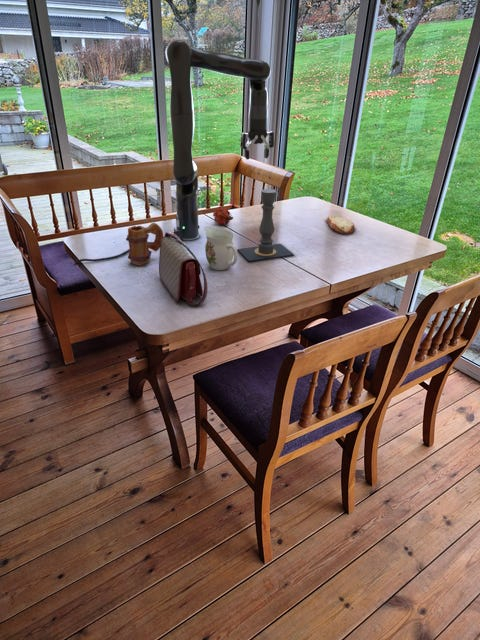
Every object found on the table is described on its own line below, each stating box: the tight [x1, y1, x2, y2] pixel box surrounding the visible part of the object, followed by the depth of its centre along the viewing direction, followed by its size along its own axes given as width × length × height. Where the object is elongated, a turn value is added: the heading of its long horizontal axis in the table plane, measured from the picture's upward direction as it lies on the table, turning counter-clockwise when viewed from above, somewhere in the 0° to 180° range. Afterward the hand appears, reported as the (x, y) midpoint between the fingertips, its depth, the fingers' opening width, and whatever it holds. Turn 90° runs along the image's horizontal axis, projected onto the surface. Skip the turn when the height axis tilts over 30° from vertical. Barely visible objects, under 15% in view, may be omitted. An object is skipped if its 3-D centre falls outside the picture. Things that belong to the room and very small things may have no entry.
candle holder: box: [258, 188, 277, 254], centre depth 181 cm, size 6×6×25 cm
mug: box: [125, 222, 164, 266], centre depth 175 cm, size 15×8×15 cm, turn 117°
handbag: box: [158, 231, 208, 306], centre depth 153 cm, size 28×11×17 cm, turn 25°
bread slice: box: [326, 215, 356, 236], centre depth 217 cm, size 18×18×4 cm
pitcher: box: [204, 226, 239, 271], centre depth 172 cm, size 11×18×14 cm, turn 41°
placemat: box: [236, 243, 295, 263], centre depth 188 cm, size 20×13×1 cm, turn 111°
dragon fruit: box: [212, 205, 234, 226], centre depth 218 cm, size 8×8×12 cm
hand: (256, 158), depth 192 cm, fingers open, 8 cm apart
